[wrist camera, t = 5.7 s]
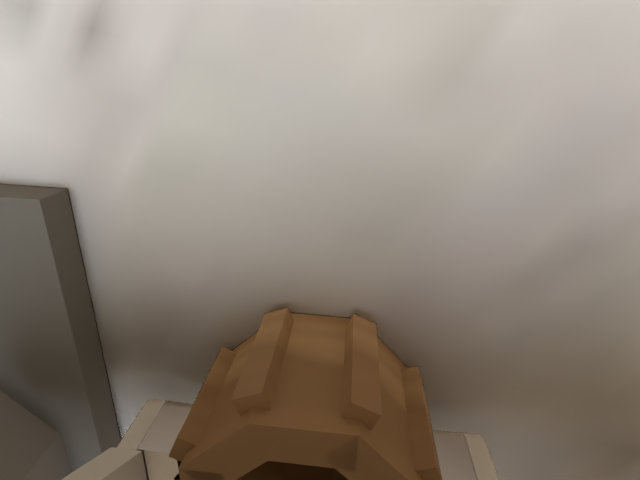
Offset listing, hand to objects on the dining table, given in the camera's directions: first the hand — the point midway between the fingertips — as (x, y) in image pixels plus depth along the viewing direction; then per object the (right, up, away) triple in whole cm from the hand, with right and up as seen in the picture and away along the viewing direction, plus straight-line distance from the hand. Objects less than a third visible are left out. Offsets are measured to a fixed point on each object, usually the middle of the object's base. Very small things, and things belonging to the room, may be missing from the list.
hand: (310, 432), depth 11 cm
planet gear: (0, +1, +2) cm, 2 cm away
